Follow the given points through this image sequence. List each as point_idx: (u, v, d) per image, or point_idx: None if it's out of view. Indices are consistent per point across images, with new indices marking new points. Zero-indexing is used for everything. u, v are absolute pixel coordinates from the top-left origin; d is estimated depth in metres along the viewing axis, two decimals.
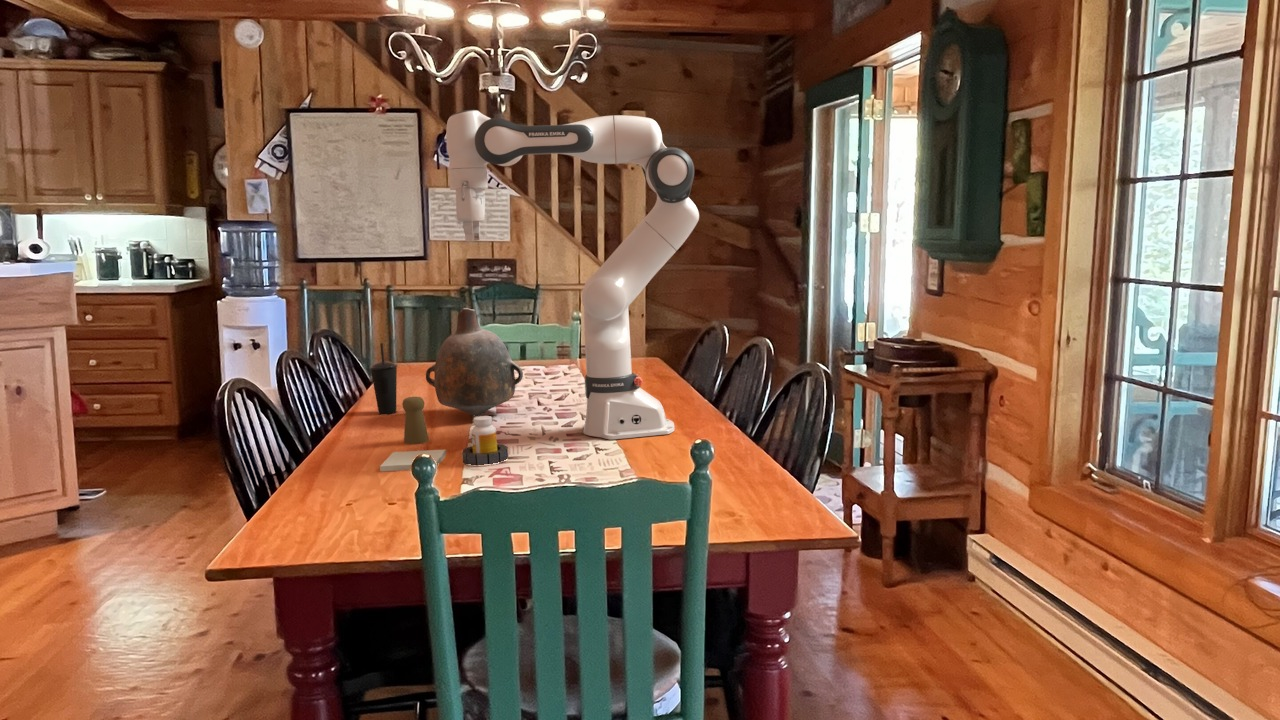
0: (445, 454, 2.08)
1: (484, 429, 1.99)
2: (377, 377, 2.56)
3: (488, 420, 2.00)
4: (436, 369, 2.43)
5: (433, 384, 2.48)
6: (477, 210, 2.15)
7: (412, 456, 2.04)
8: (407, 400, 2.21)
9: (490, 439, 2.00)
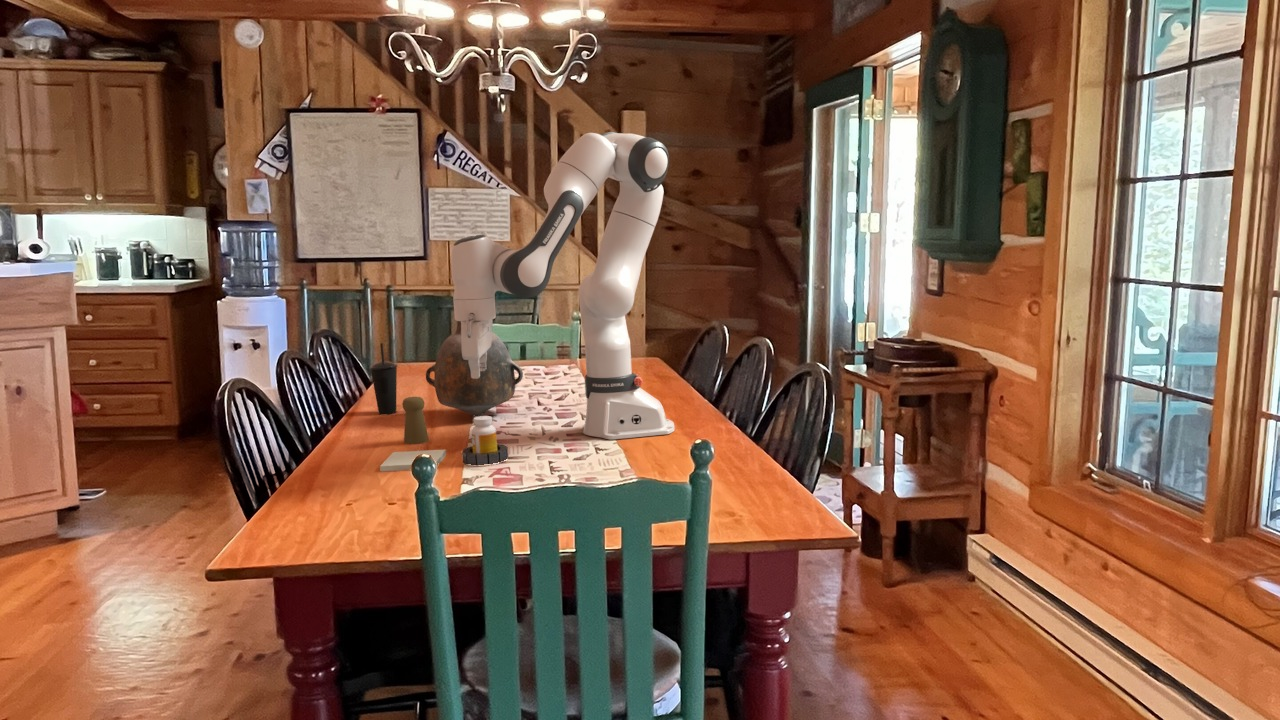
0: (445, 454, 2.08)
1: (484, 429, 1.99)
2: (377, 377, 2.56)
3: (488, 420, 2.00)
4: (436, 369, 2.43)
5: (433, 384, 2.48)
6: (484, 342, 1.97)
7: (412, 456, 2.04)
8: (407, 400, 2.21)
9: (490, 439, 2.00)
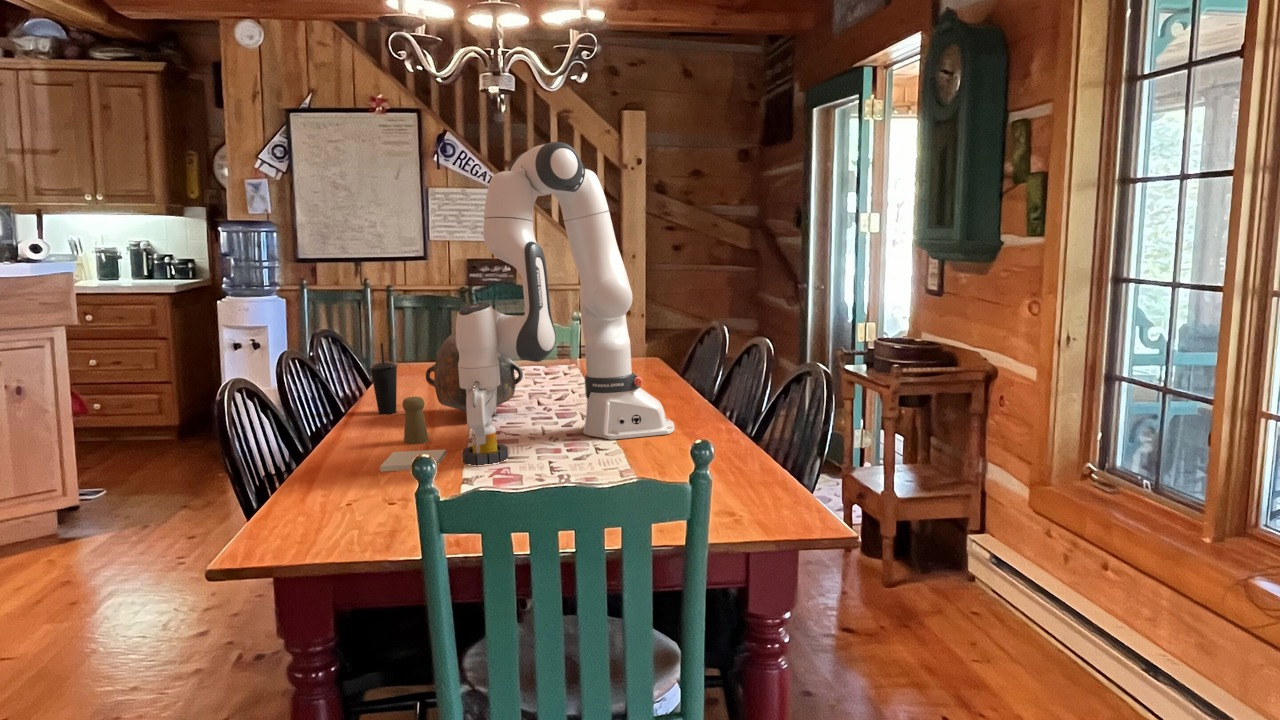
0: (445, 454, 2.08)
1: None
2: (377, 377, 2.56)
3: None
4: (436, 369, 2.43)
5: (433, 384, 2.48)
6: (489, 409, 2.00)
7: (412, 456, 2.04)
8: (407, 400, 2.21)
9: (490, 439, 2.00)
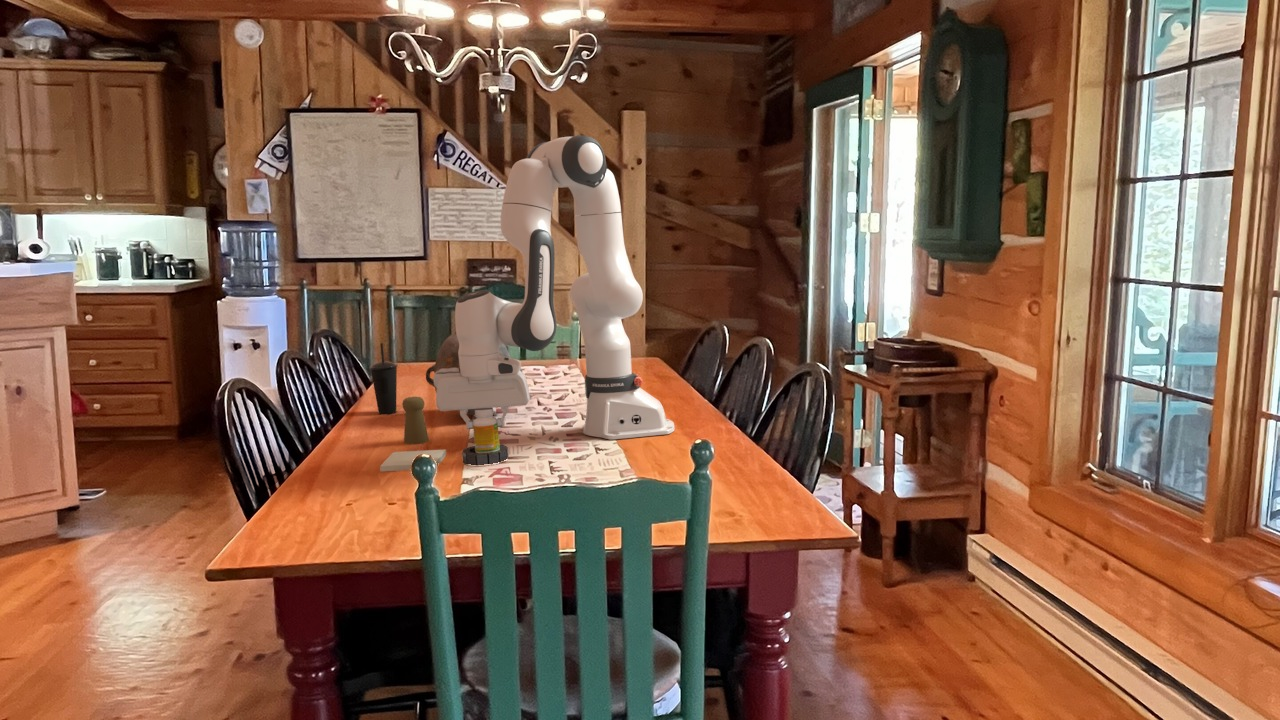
0: (445, 454, 2.08)
1: (476, 421, 1.99)
2: (377, 377, 2.56)
3: (481, 412, 1.99)
4: (436, 369, 2.43)
5: (433, 384, 2.48)
6: (475, 398, 1.99)
7: (412, 456, 2.04)
8: (407, 400, 2.21)
9: (481, 432, 1.99)
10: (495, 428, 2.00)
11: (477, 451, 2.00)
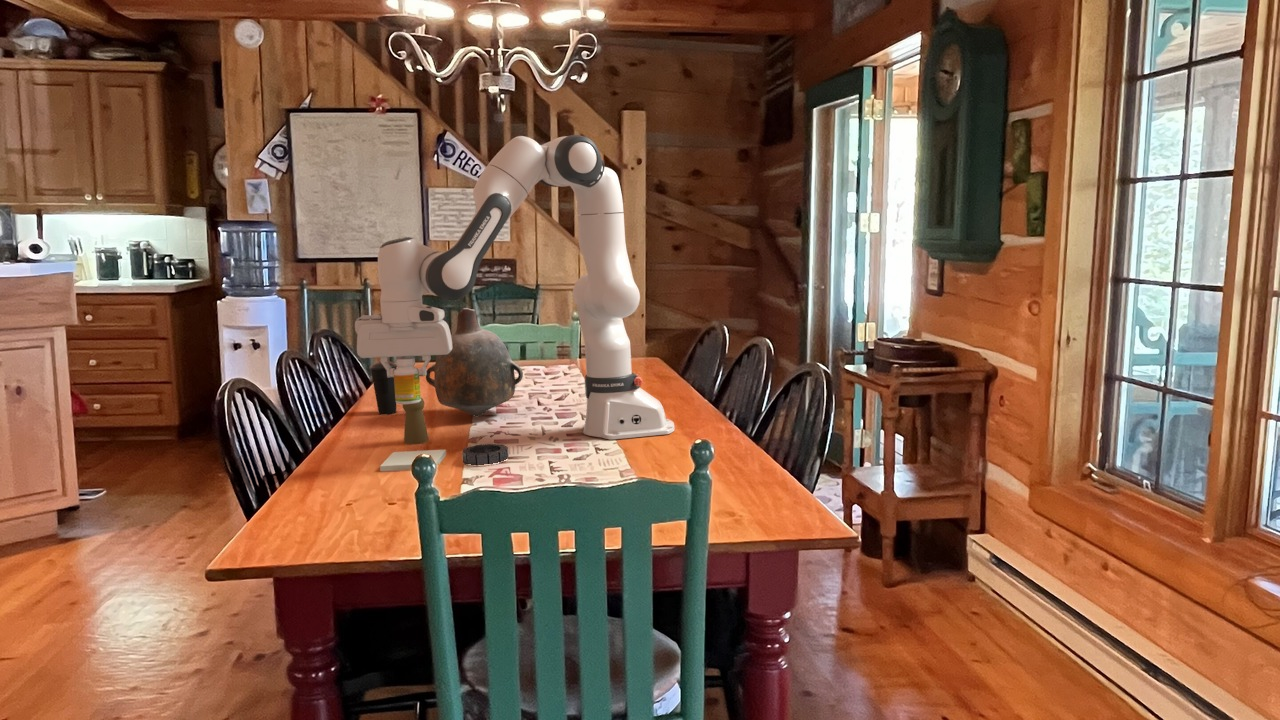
0: (445, 454, 2.08)
1: (397, 370, 1.98)
2: (377, 377, 2.56)
3: (402, 361, 1.97)
4: (436, 369, 2.43)
5: (433, 384, 2.48)
6: (396, 345, 1.97)
7: (412, 456, 2.04)
8: None
9: (400, 381, 1.97)
10: (416, 378, 1.99)
11: (397, 401, 1.99)
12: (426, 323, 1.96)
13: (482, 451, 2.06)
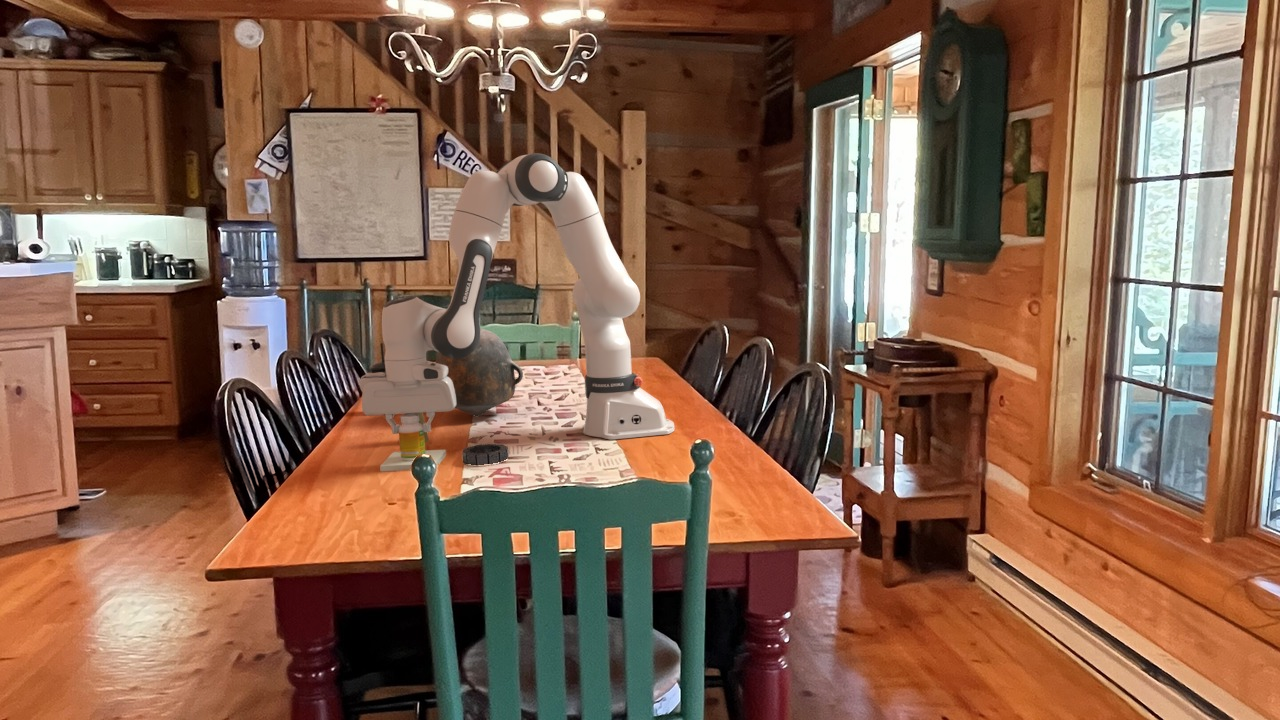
0: (445, 454, 2.08)
1: (401, 427, 2.00)
2: None
3: (406, 419, 1.99)
4: None
5: None
6: (400, 403, 1.99)
7: None
8: None
9: (405, 438, 1.99)
10: (420, 435, 2.01)
11: (402, 457, 2.01)
12: (430, 381, 1.98)
13: (482, 451, 2.06)
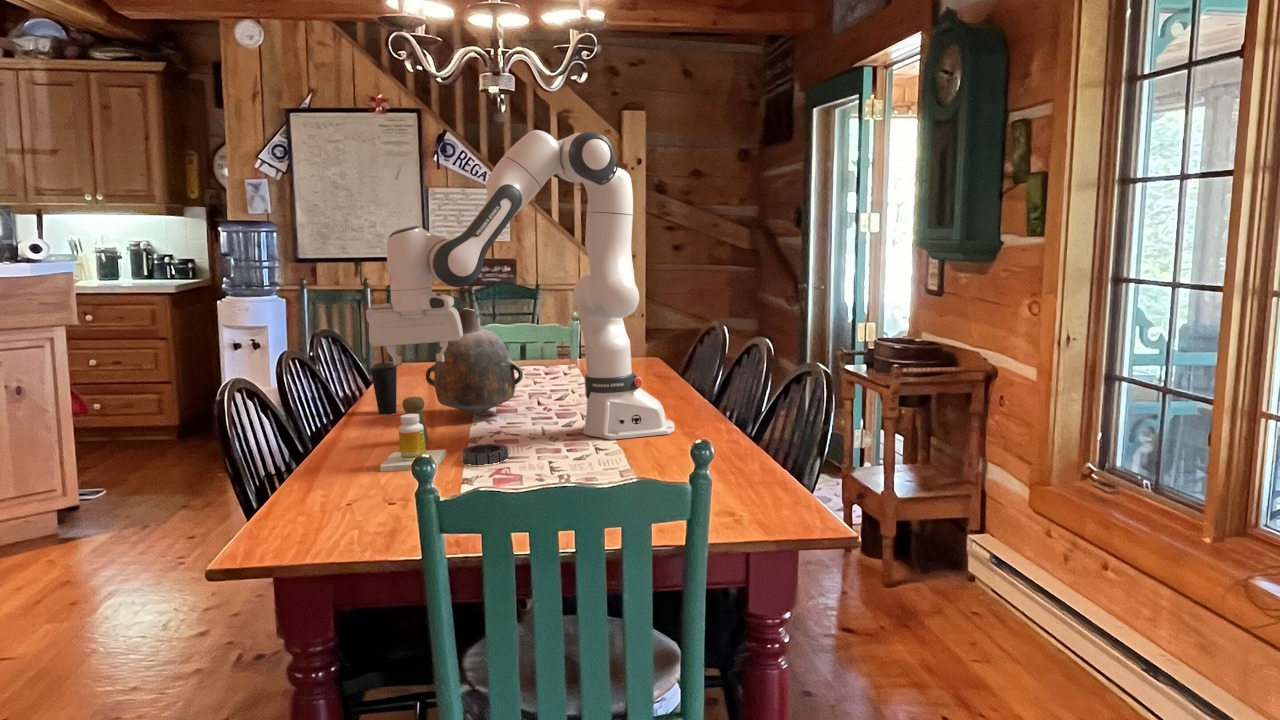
0: (445, 454, 2.08)
1: (401, 427, 2.00)
2: (377, 377, 2.56)
3: (406, 419, 1.99)
4: (436, 369, 2.43)
5: (433, 384, 2.48)
6: (407, 333, 2.00)
7: None
8: (407, 400, 2.21)
9: (405, 438, 1.99)
10: (420, 435, 2.01)
11: (402, 457, 2.01)
12: (436, 310, 1.99)
13: (482, 451, 2.06)
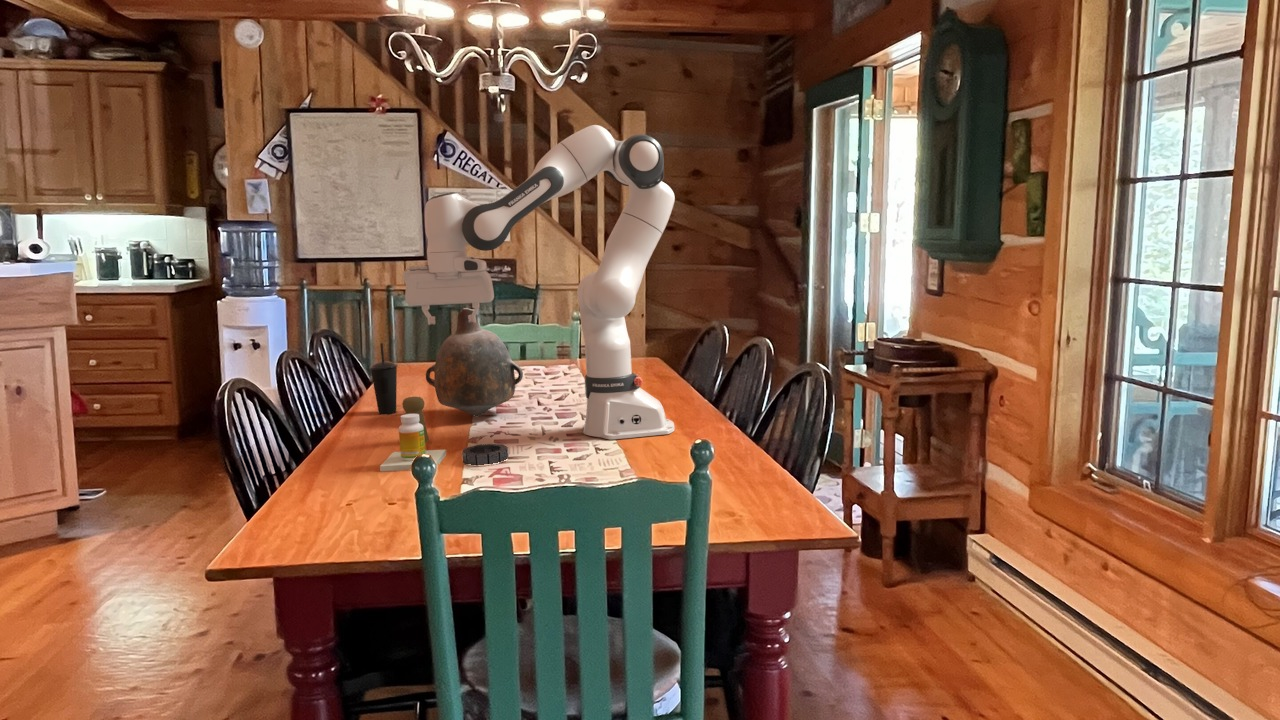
0: (445, 454, 2.08)
1: (402, 427, 2.00)
2: (377, 377, 2.56)
3: (406, 419, 1.99)
4: (436, 369, 2.43)
5: (433, 384, 2.48)
6: (442, 294, 2.11)
7: None
8: (407, 400, 2.21)
9: (405, 438, 1.99)
10: (420, 435, 2.01)
11: (402, 457, 2.01)
12: (470, 272, 2.10)
13: (482, 451, 2.06)
